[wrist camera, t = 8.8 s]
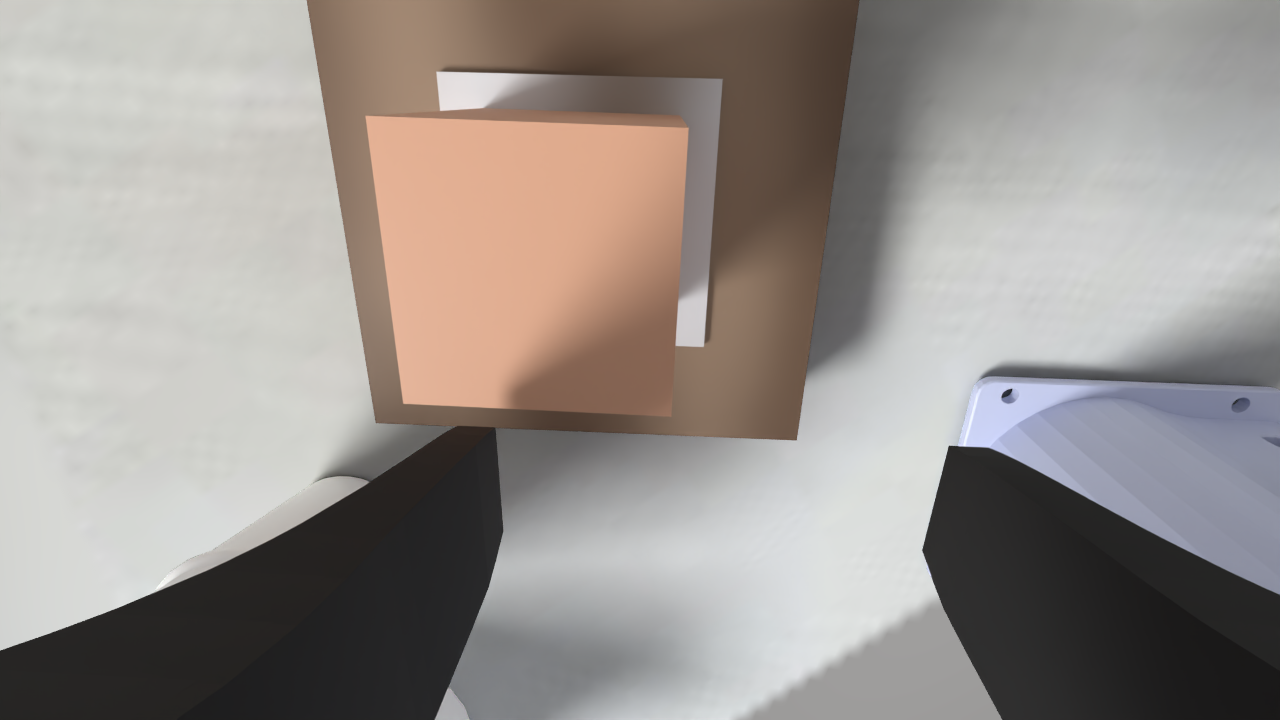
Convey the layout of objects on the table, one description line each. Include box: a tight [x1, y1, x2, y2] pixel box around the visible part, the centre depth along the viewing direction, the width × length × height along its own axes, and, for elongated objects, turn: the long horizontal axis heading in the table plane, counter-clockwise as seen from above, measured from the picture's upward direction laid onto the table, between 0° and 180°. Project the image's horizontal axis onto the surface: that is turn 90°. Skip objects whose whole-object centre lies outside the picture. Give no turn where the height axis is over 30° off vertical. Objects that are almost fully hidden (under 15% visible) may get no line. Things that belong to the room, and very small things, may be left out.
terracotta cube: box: [365, 108, 689, 417], centre depth 12 cm, size 4×4×6 cm
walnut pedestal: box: [307, 0, 859, 440], centre depth 17 cm, size 12×12×3 cm
